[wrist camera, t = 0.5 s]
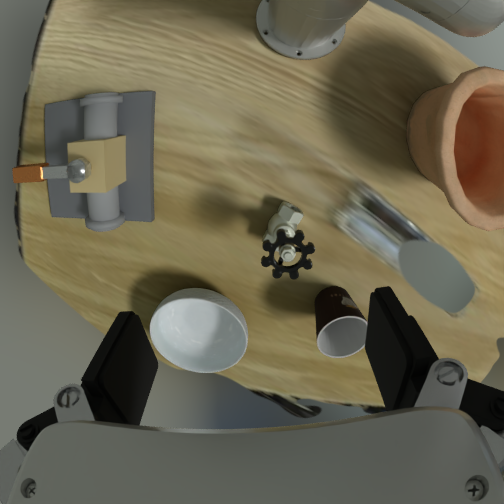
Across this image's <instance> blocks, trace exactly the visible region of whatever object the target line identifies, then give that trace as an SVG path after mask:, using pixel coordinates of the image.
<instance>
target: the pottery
mask: <svg viewBox="0 0 504 504" xmlns="http://www.w3.org/2000/svg"><path fill="white" fill-rule="evenodd" d="M406 139H407V143H408V147H409V152H410V156H411V158H412V160H413V161H414V163H415V165H416V167H417V169H418V170H419V171H420V172H421V173H422V174H423V175H424V176H425V177H426V178H427V179H428V180H430V181H431V182H433V183H434V184H435V185H436V186H437V187H438V188H440V189H441V190H442V191H443V192H444V193H445V196H446V198H447V200H448V202H449V205H450V206H451V207H452V208H453V209H454V210H455V211H456V212H457V213H458V214H459V215H460V216H461V218H462V219H463V220H464V221H465V222H467V223H468V224H470V225H472V226H475V227H478V228H481V229H483V230H486V231H491V230H497V229H502V228H504V71H503V70H499V69H494V68H490V67H478V68H475V69H472V70H469V71H466V72H464V73H461V74H460V75H459V76H458V78H457V79H456V80H455V81H454V82H453V83H451V84H448V85H444V86H441V87H437V88H434V89H432V90H429V91H427V92H424V93H423V94H422V95H421V96H420V97H419V99H418V100H417V101H416V102H415V103H414V104H413V107H412V109H411V112H410V115H409V117H408V120H407V136H406Z"/></svg>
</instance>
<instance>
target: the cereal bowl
mask: <svg viewBox="0 0 504 504" xmlns="http://www.w3.org/2000/svg"><path fill="white" fill-rule="evenodd" d="M150 336H151V339H152V342H153V344H154V346H155V347H156V349H157V350H158V351H159V352H160V354H161V355H162V356H164V357H165V358H166V359H167V360H169V361H170V362H172V363H173V364H175V365H177V366H179V367H181V368H183V369H186V370H190V371H194V372H202V373H212V372H218V371H222V370H225V369H228V368H230V367H231V366H233V365H235V364H236V363H237V362H238V361H239V360H240V359H241V358H242V356H243V355H244V353H245V351H246V348H247V342H248V329H247V325H246V321H245V319H244V316H243V315H242V313H241V311H240V310H239V309H238V307H237V306H236V305H235V304H234V303H233V302H232V301H231V300H229V299H228V298H226V297H225V296H223V295H221V294H219V293H217V292H215V291H211V290H208V289H202V288H188V289H183V290H179V291H176V292H174V293H172V294H171V295H169V296H167V297H166V298H165V299H164V300H163V301H162V302H161V303H160V304H159V306H158V307H157V308H156V310H155V311H154V314H153V316H152V318H151V322H150Z"/></svg>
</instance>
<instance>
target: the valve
mask: <svg viewBox="0 0 504 504" xmlns="http://www.w3.org/2000/svg"><path fill="white" fill-rule="evenodd" d="M277 211H278V213H276V214H274V215H273V216H272V217H271V219H270V221H269V223H268V229H267V230H266V232H265V234H264V236H263V238H262V242H263V249H264V250H265V251H269V256H268V257H265V256H263V257H262V258H261V264H262V266H264V267H268V266H270V265H272V266H273V267H274V268H275V269H273V270H272V274H273V277H274V278H280V277H281V276H282V273H283V272H288V273H289V275H290V278H291V279H297V278H298V277H299V273H298V271H297V270H298V269H299V268H301V267H304V268H305V269H307V270H308V269H311V268H312V261H311V259H308V260H307V259H306V257H307V254H312V253H314V251H315V247H314V244H313V243H311V242H308V245H304V244H303V243H302V241H303V240H304V233H303V231H301V230H297V224H299V222H300V221H301V219H302V217H303V212H302V210H300V209H299V208H298V207H296V206H294V205H293V204H291V203H288V202H283V201H282V203H281V204H280V206H279V208H278V210H277ZM294 244H295V245H297V247H294ZM275 251H279V254H280V257H279V260H278V263H277V262H276V260H275V258H274V252H275ZM296 252H301V254H302V255H301V258H300V260H299V261H298V262H297V263H296V264H294V265H292V266H283V265H282V263H283V260H284V261H285V262H289V261H292V260H293V259H294V257H295V253H296Z"/></svg>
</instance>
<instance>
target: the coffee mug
mask: <svg viewBox="0 0 504 504" xmlns="http://www.w3.org/2000/svg"><path fill="white" fill-rule="evenodd" d="M315 315H316V334H317V346H318V348H319V350H320V351H321V352H322V353H323V354H324V355H326V356H329V357H333V358H342V357H347V356H350V355H353V354H355V353H357V352H358V351H360V350H361V349H362V348H363V347H364V346H365V340H366V332H367V323H368V322H367V321H366V319H365V318H364V316H363V315H362V313H361V312H360V310H359V309H358V307H357V306H356V304H355V303H354V301H353V300H352V298H351V297H350V295H349V294H348V292H347V291H346V290H345V289H343V288H341V287H337V286H333V287H328V288H326V289H324V290H322V291H321V292H320V293H319V294H318V295H317V297H316V299H315Z"/></svg>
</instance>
